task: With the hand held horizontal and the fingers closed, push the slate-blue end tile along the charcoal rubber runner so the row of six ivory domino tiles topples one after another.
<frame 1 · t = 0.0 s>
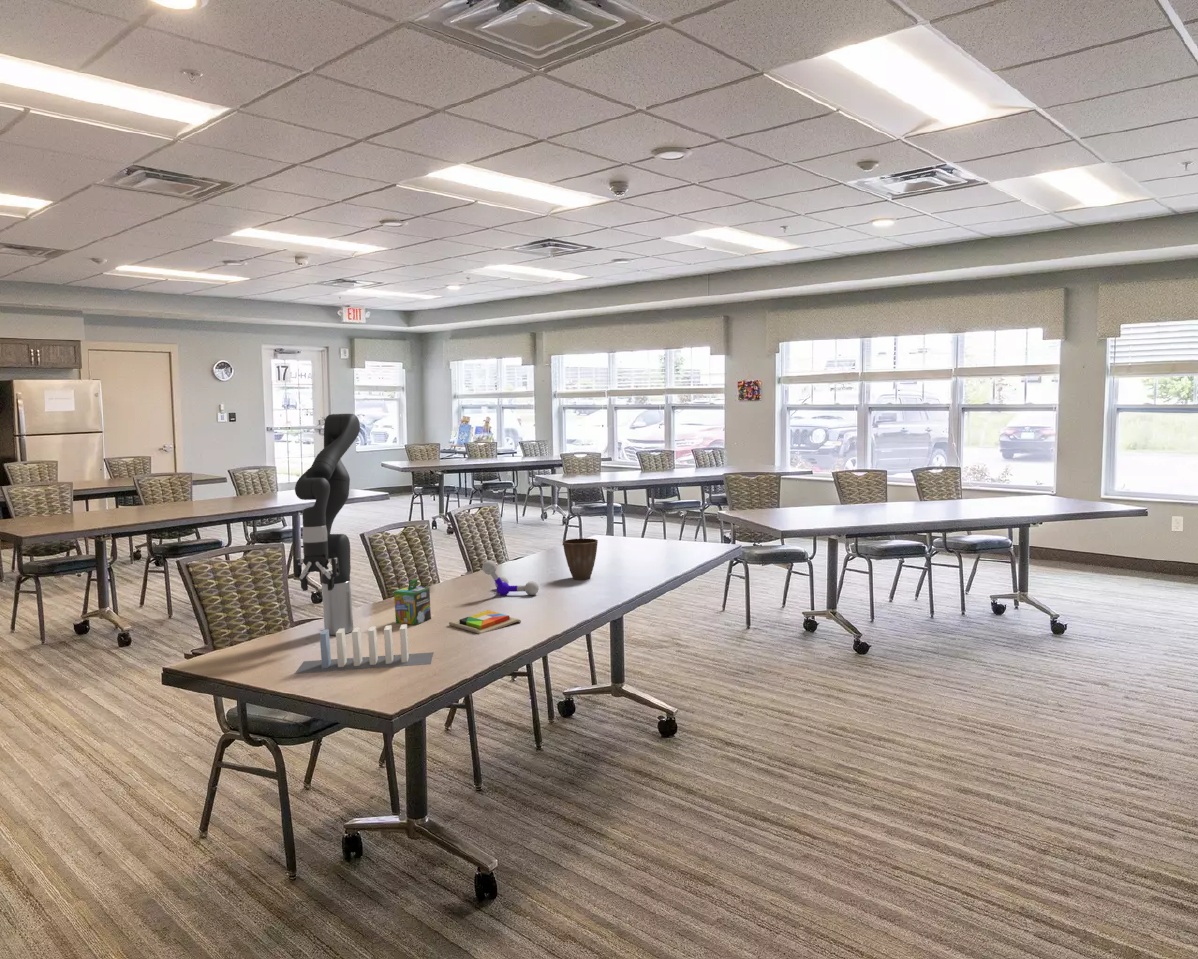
hand: (317, 590, 271), 17 cm above the table, tool pointing down, fingers open, 8 cm apart
wooden puzzle: (485, 626, 289), on the table
tile 3: (358, 663, 247), resting on runner
tile 2: (342, 664, 247), resting on runner
molecular model: (515, 594, 335), on the table
runner: (366, 663, 248), on the table
tile 1: (326, 665, 246), resting on runner
tile 4: (374, 662, 248), resting on runner
chalk box: (413, 621, 297), on the table
tile 5: (389, 660, 248), resting on runner
tile 6: (405, 659, 249), resting on runner
plant pot: (581, 578, 361), on the table
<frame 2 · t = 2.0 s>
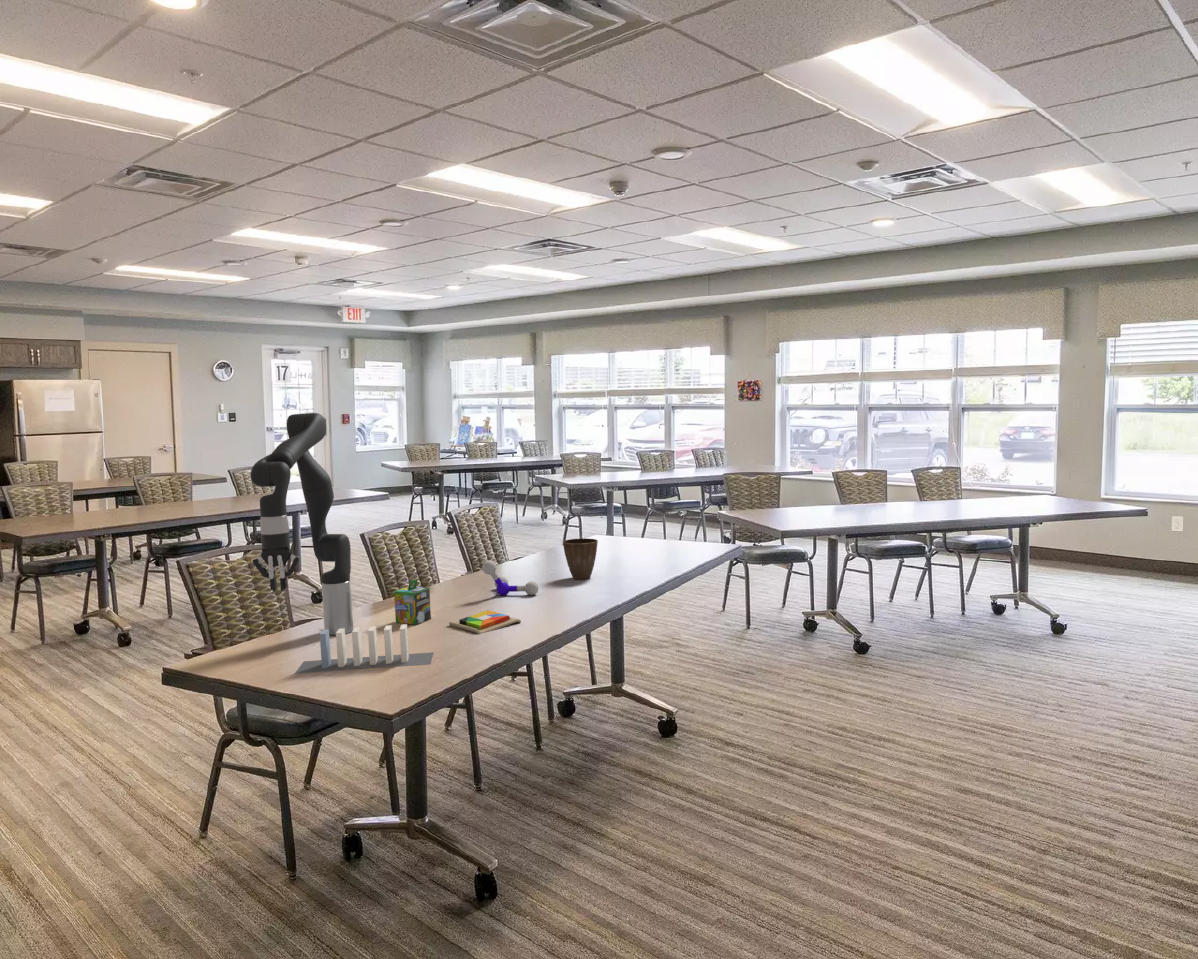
hand: (279, 590, 244), 23 cm above the table, tool pointing down, fingers closed
nothing on the table moved.
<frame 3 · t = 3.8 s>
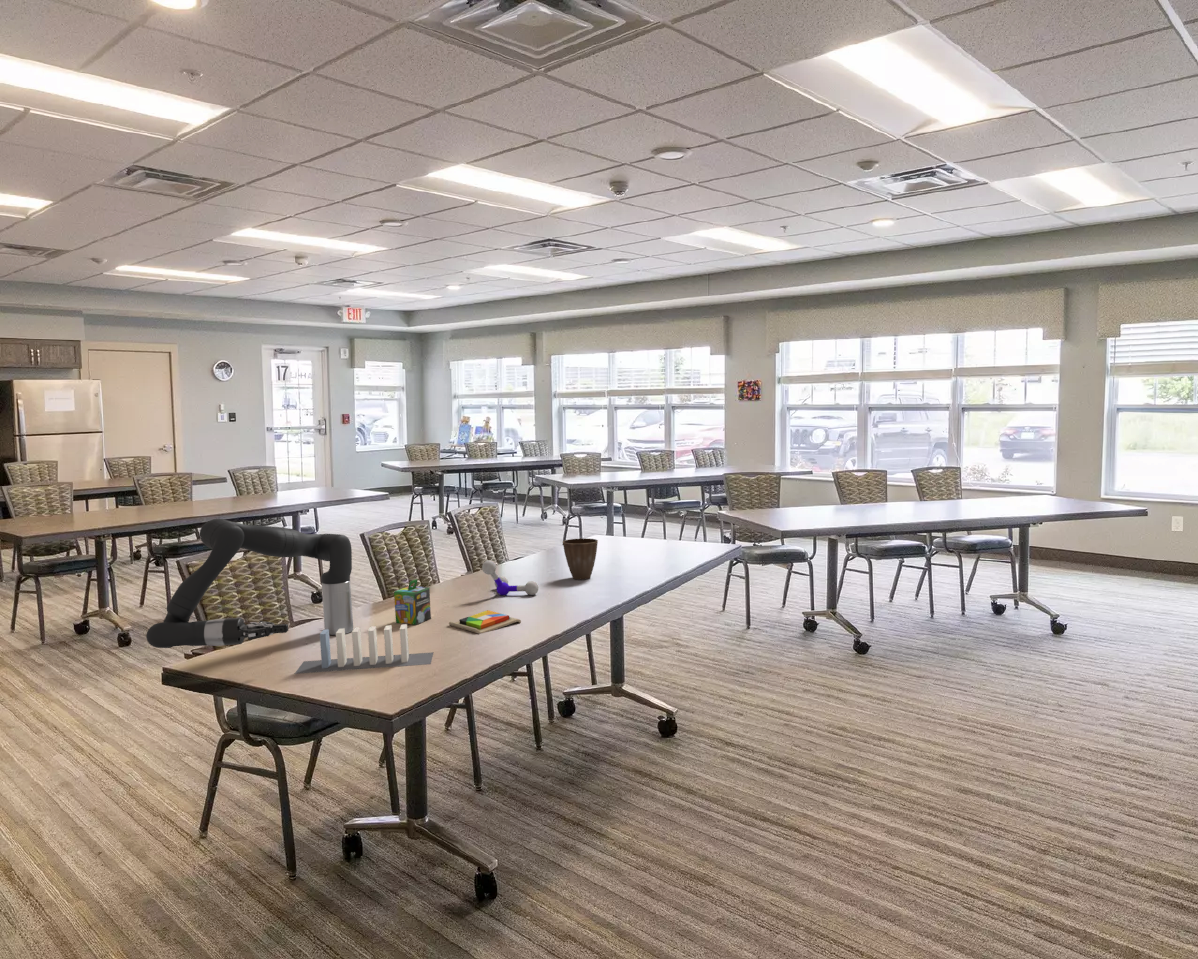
hand: (287, 628, 244), 12 cm above the table, tool horizontal, fingers closed
nothing on the table moved.
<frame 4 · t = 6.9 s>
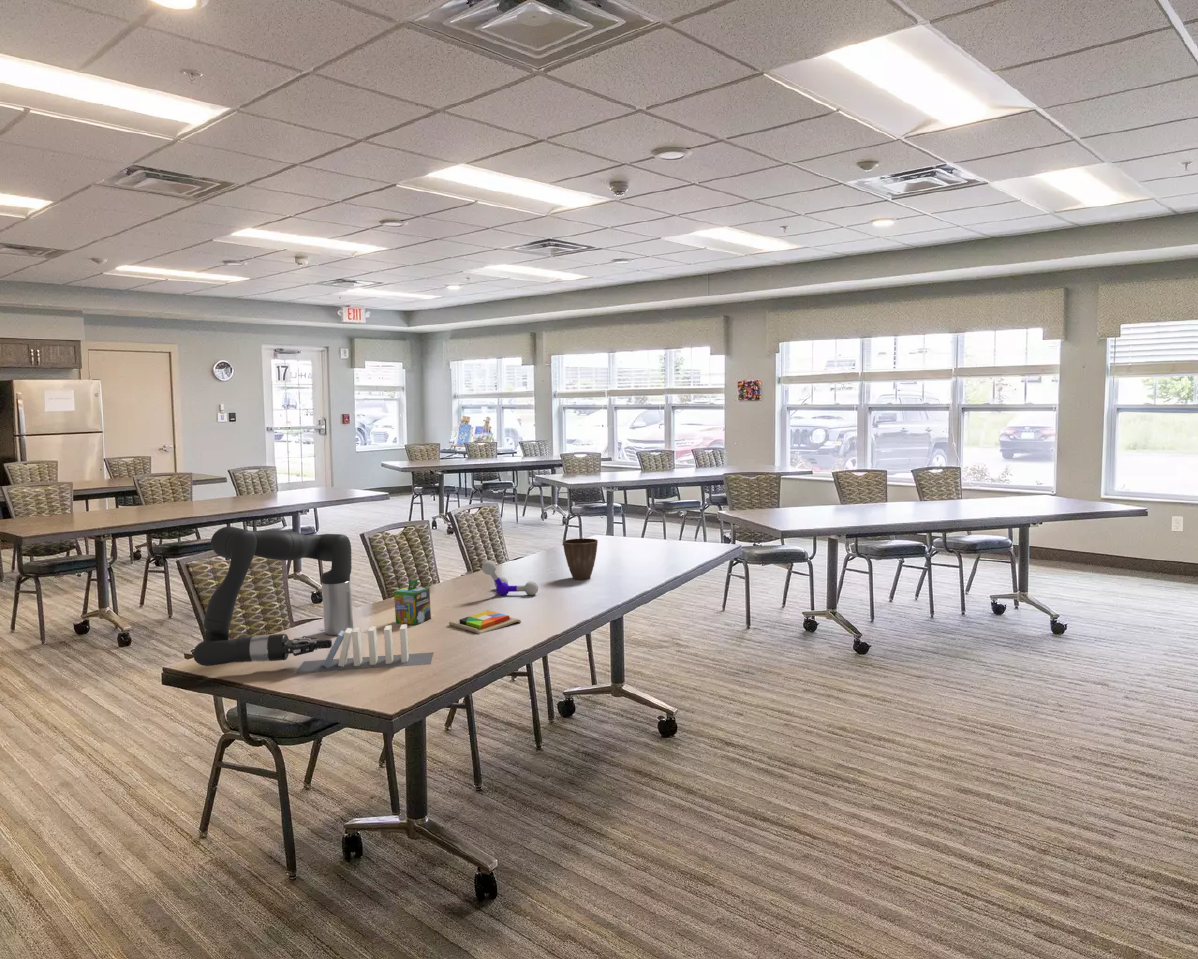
hand: (331, 643, 245), 7 cm above the table, tool horizontal, fingers closed
tile 2: (342, 663, 247), point 1 cm above the table, tilted 14°, touching runner
tile 1: (326, 664, 246), point 1 cm above the table, tilted 29°, touching runner
everything else where it was.
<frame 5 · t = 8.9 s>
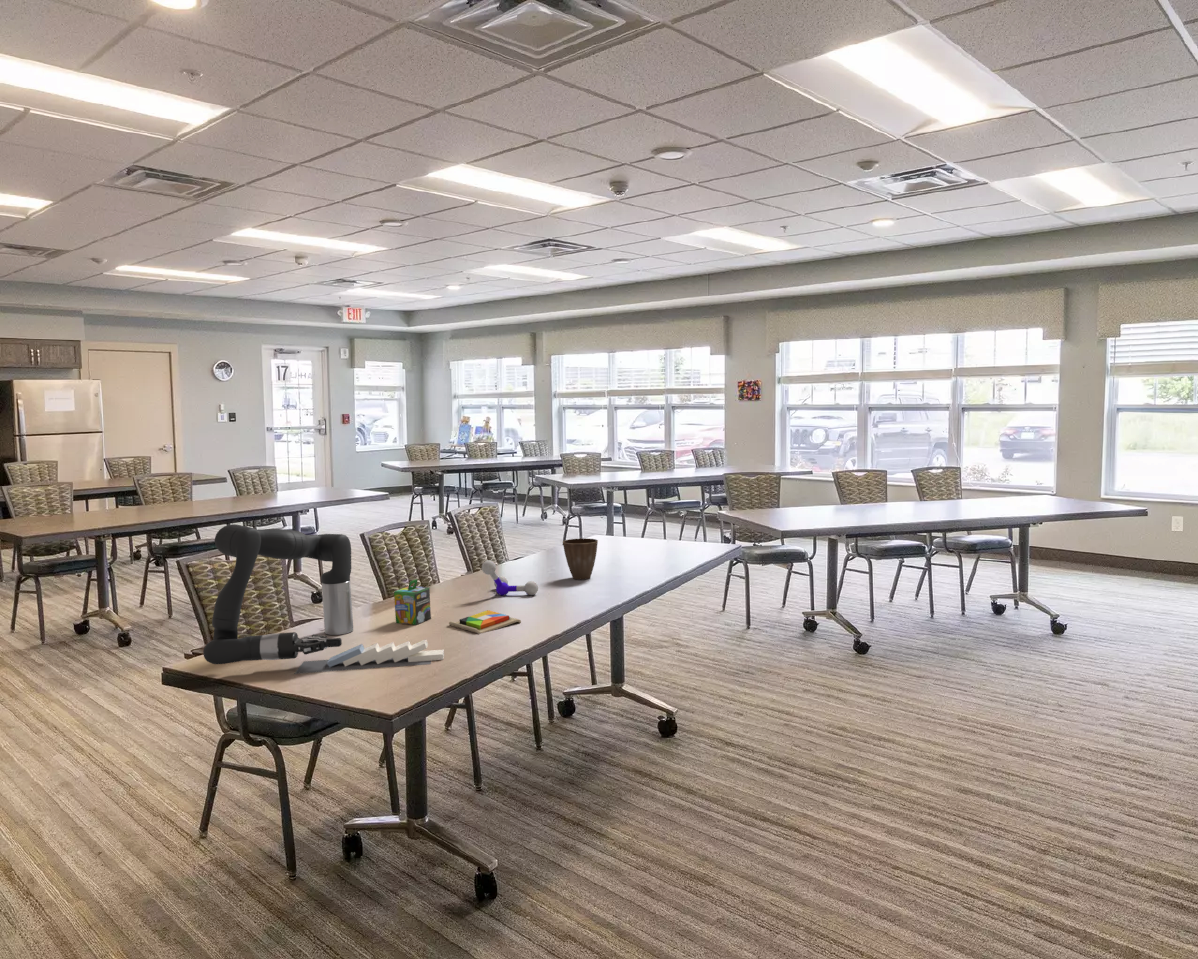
hand: (341, 642, 246), 7 cm above the table, tool horizontal, fingers closed
tile 3: (361, 660, 247), point 1 cm above the table, tilted 70°, touching runner, tile 2, tile 4
tile 2: (345, 661, 247), point 1 cm above the table, tilted 69°, touching runner, tile 1, tile 3
tile 1: (329, 662, 246), point 1 cm above the table, tilted 69°, touching tile 2
tile 4: (377, 659, 248), point 1 cm above the table, tilted 69°, touching runner, tile 3, tile 5
tile 5: (394, 657, 248), point 1 cm above the table, tilted 69°, touching tile 4, tile 6
tile 6: (409, 656, 249), point 1 cm above the table, tilted 90°, touching runner, tile 5
everything else where it was.
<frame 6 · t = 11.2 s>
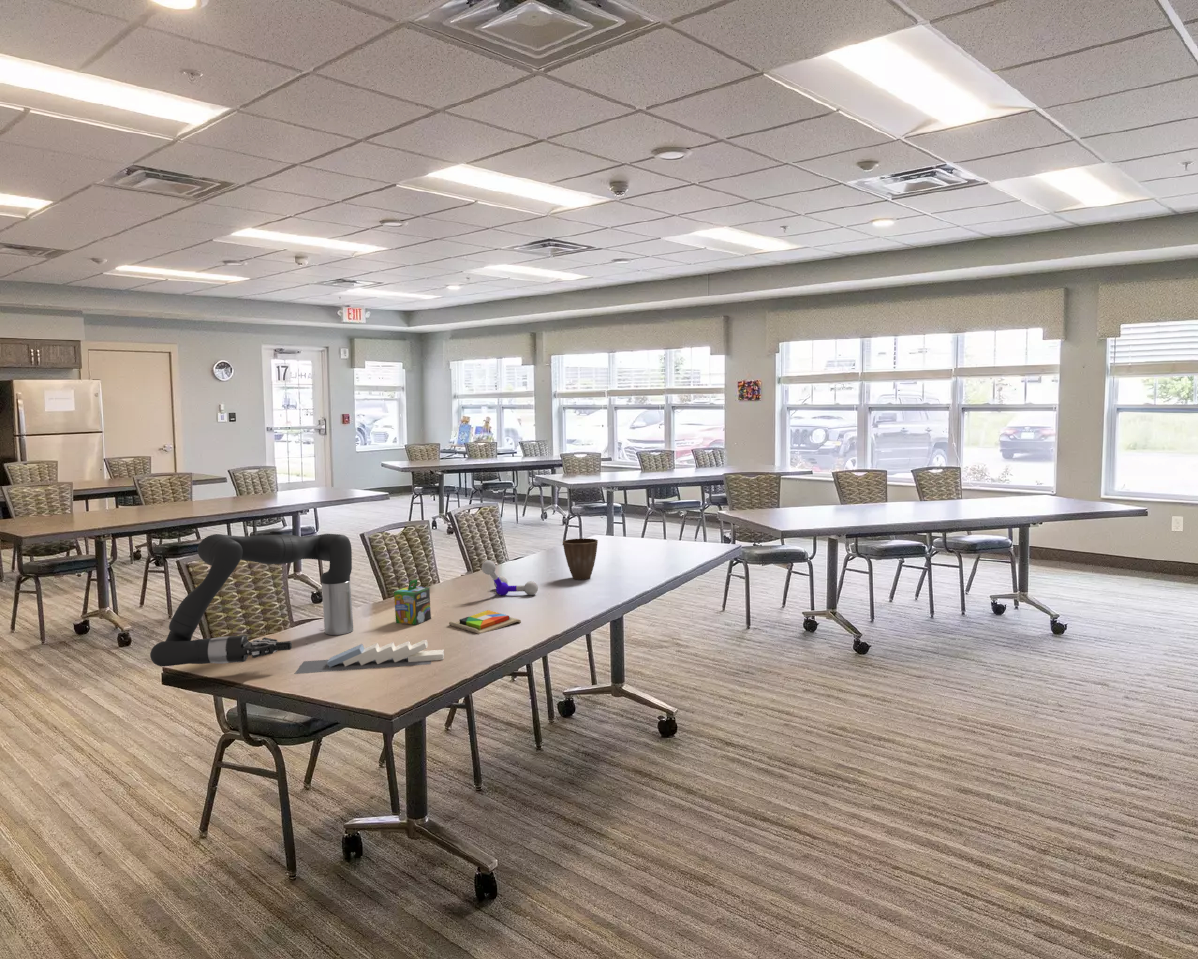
hand: (291, 645, 244), 7 cm above the table, tool horizontal, fingers closed
nothing on the table moved.
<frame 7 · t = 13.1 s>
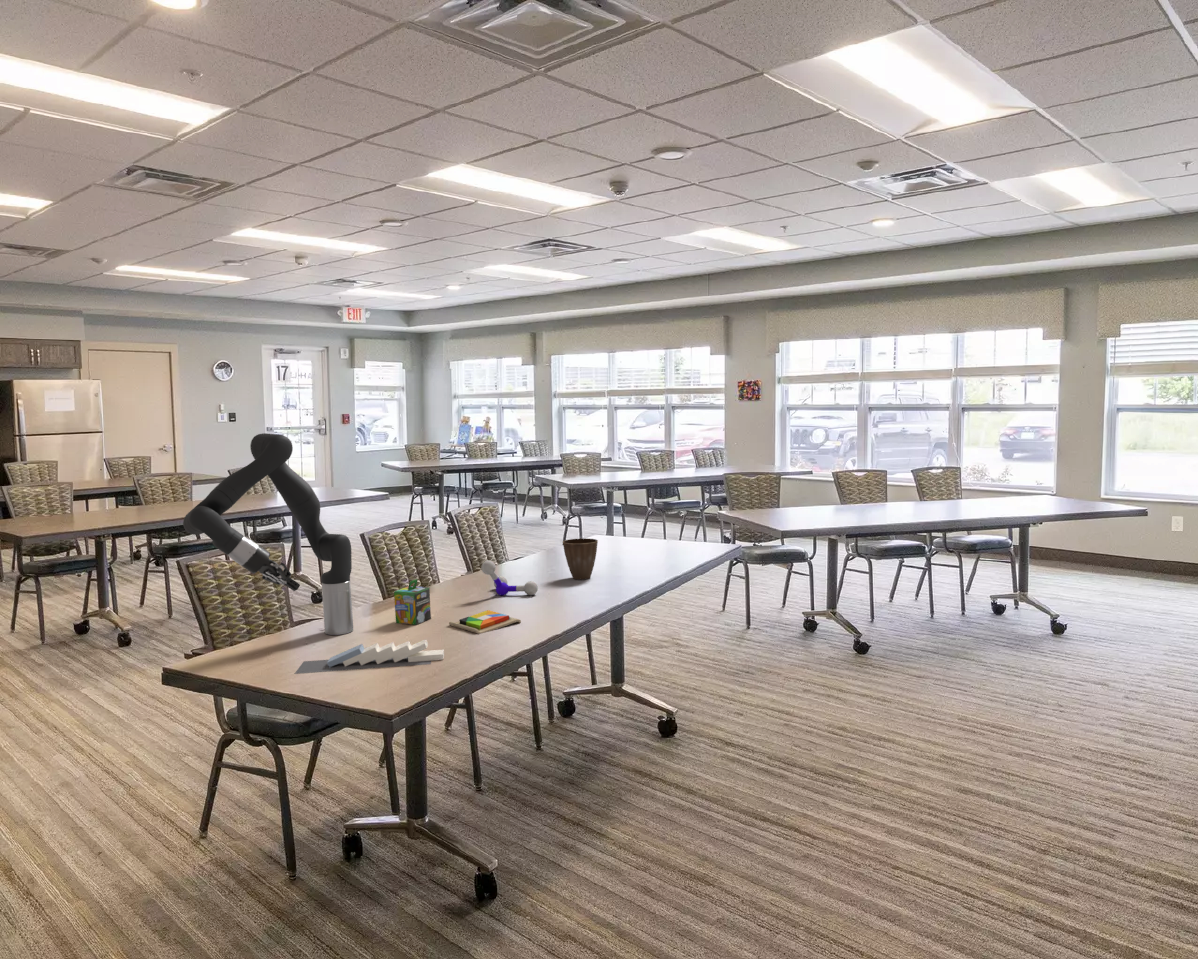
hand: (297, 588, 252), 22 cm above the table, tool tilted 50°, fingers closed
nothing on the table moved.
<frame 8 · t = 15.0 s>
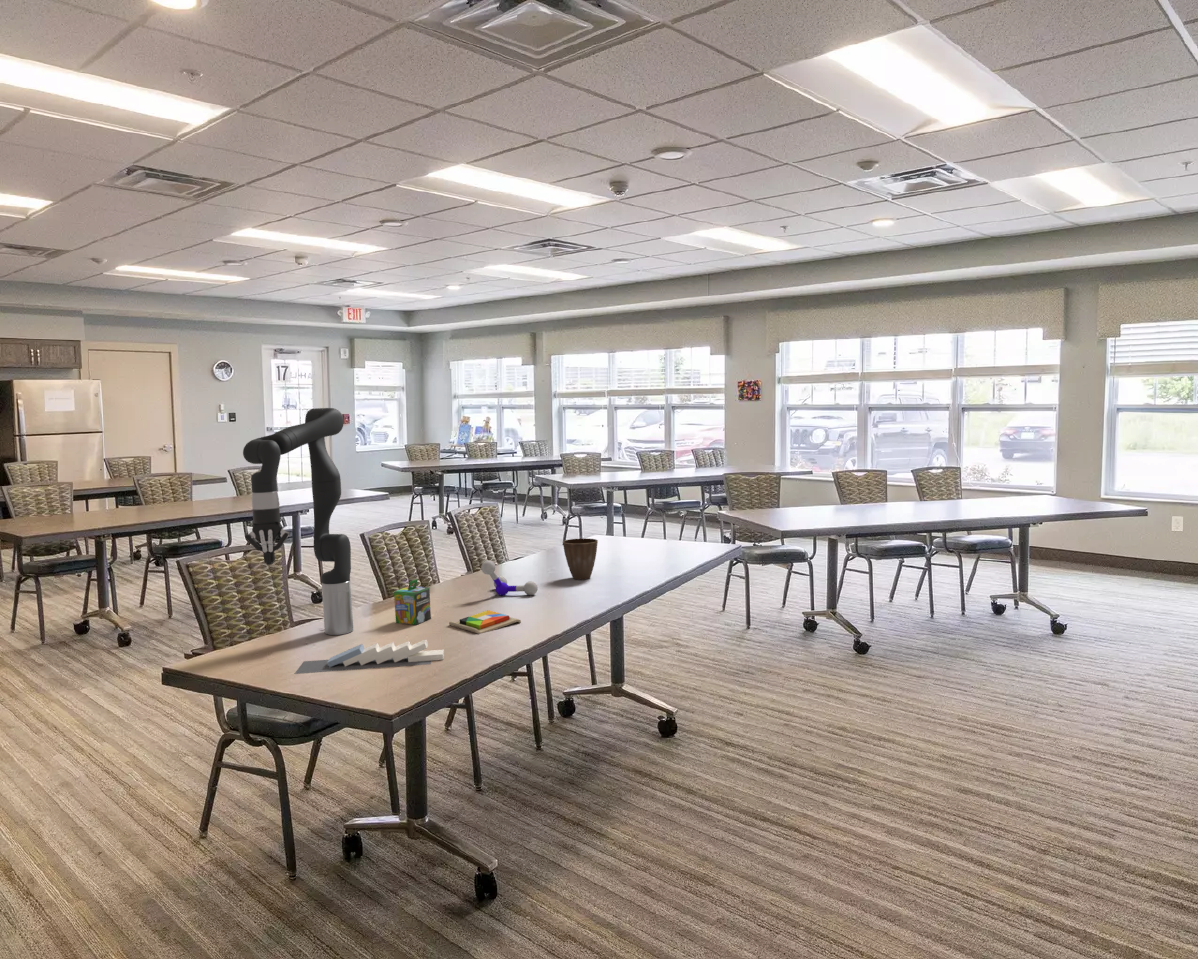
hand: (269, 563, 255), 29 cm above the table, tool pointing down, fingers closed
nothing on the table moved.
at the end: tile 6 tilted 90°; tile 1 tilted 69° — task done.
